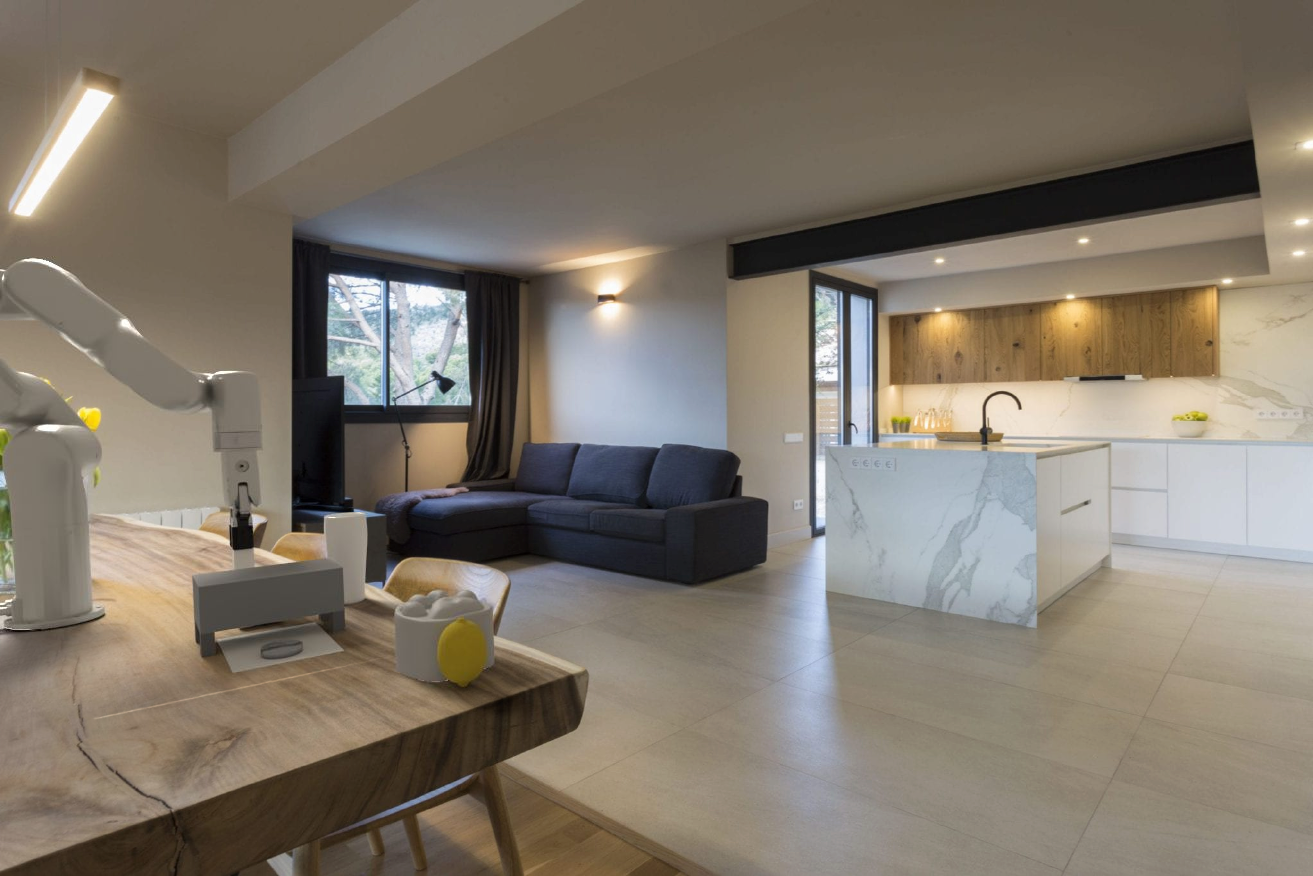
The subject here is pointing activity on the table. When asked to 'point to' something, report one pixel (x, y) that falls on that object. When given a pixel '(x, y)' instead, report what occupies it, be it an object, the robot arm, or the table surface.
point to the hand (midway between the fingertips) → (241, 546)
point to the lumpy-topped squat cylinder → (436, 630)
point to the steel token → (281, 649)
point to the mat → (246, 647)
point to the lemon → (462, 652)
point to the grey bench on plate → (266, 597)
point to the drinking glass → (348, 550)
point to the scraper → (242, 556)
